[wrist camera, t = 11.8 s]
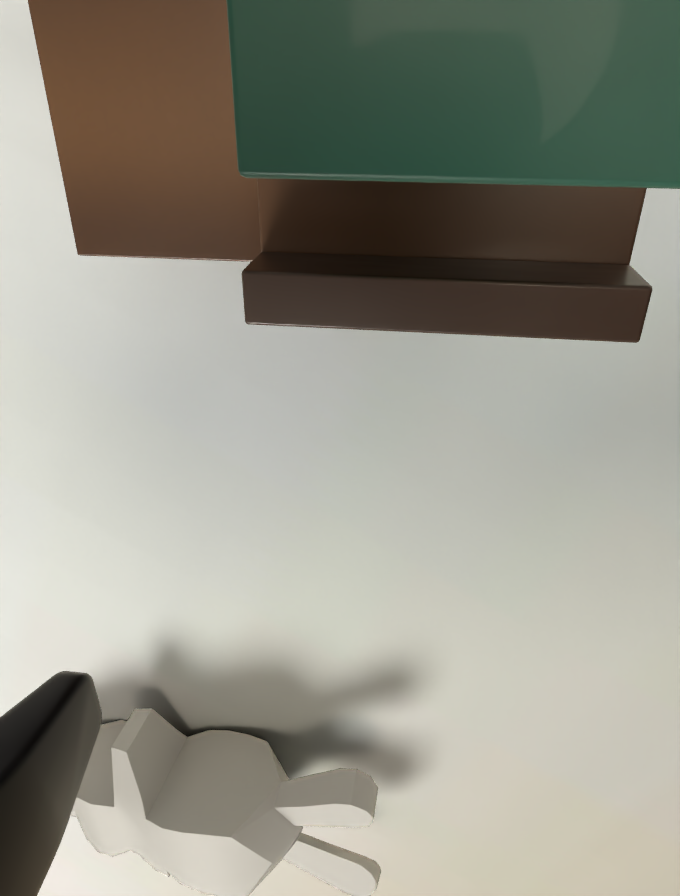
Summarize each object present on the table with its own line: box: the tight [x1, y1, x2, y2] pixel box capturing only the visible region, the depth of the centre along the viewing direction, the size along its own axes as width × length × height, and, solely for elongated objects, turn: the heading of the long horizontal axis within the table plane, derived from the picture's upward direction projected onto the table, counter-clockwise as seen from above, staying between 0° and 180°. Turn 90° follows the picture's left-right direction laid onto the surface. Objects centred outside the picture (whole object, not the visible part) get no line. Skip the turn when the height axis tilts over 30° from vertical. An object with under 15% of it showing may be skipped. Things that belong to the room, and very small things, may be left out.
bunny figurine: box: [70, 708, 381, 896], centre depth 29 cm, size 10×5×15 cm
